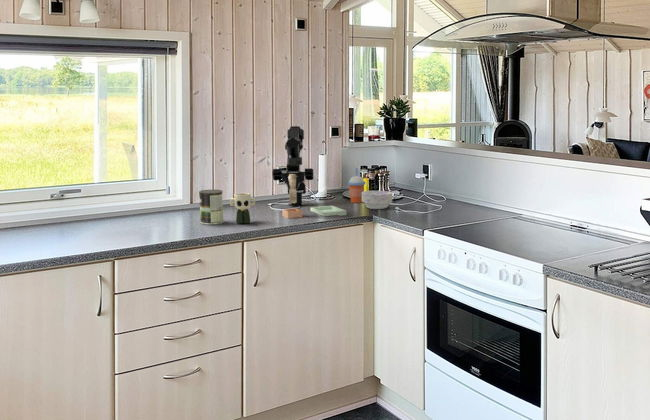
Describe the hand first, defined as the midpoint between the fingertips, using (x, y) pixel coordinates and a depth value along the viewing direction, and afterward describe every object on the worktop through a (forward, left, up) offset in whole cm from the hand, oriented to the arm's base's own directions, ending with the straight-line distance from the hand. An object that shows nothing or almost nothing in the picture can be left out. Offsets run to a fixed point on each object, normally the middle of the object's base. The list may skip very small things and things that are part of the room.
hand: (292, 189), depth 287 cm
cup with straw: (-26, +46, -14) cm, 55 cm away
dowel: (-1, +1, -6) cm, 7 cm away
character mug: (+1, -24, -14) cm, 28 cm away
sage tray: (-3, +19, -13) cm, 24 cm away
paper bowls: (-6, +47, -14) cm, 50 cm away
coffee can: (-7, -36, -14) cm, 39 cm away
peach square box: (-1, 0, -13) cm, 14 cm away
